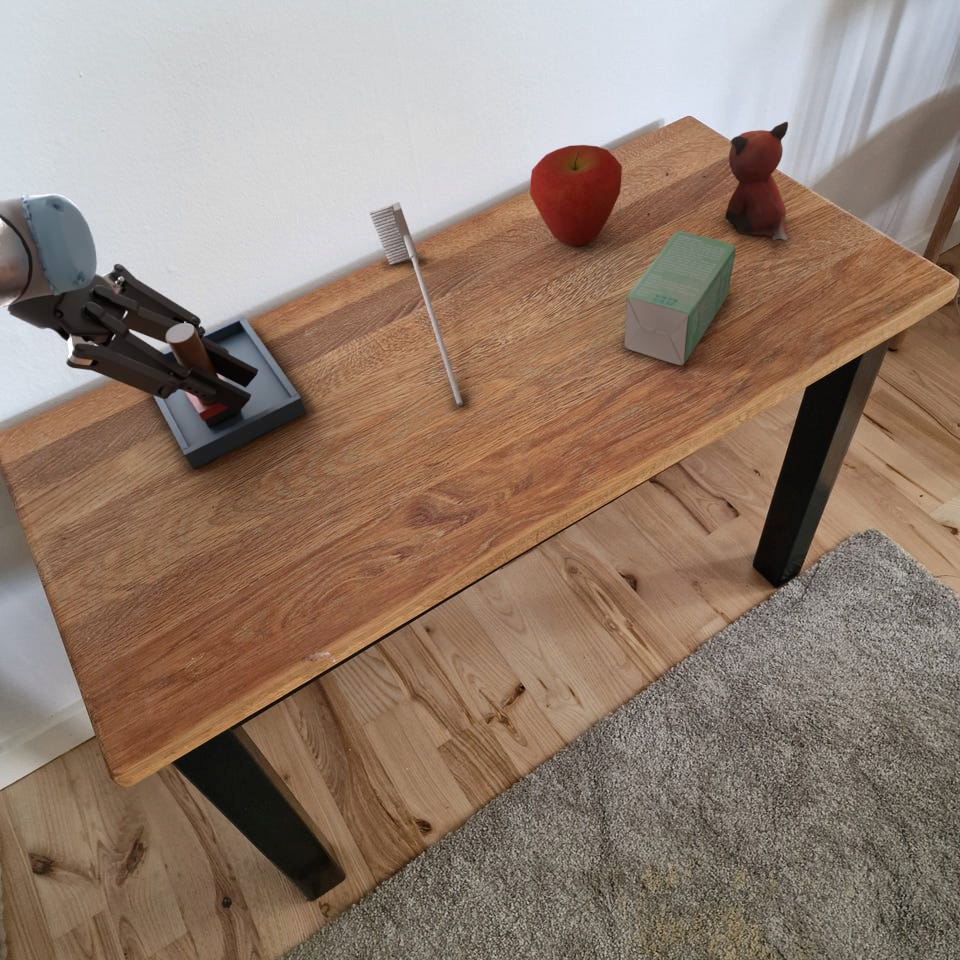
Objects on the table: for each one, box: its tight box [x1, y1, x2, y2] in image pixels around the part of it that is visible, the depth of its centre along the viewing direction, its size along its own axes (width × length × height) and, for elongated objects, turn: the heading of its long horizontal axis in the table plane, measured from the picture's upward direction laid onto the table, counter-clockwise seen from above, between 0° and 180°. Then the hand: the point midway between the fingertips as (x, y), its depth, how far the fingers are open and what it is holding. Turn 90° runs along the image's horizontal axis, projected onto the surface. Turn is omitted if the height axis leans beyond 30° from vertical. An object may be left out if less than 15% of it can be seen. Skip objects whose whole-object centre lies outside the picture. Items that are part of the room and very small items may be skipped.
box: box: [623, 231, 737, 366], centre depth 92 cm, size 7×14×8 cm, turn 149°
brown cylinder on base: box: [166, 322, 242, 428], centre depth 89 cm, size 8×4×12 cm, turn 34°
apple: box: [529, 144, 623, 248], centre depth 102 cm, size 11×11×12 cm
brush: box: [369, 201, 464, 407], centre depth 96 cm, size 4×27×9 cm, turn 13°
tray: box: [152, 314, 307, 469], centre depth 94 cm, size 18×14×2 cm
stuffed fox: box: [724, 121, 789, 242], centre depth 99 cm, size 8×11×12 cm
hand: (248, 390), depth 89 cm, fingers closed on brown cylinder on base, 3 cm apart
